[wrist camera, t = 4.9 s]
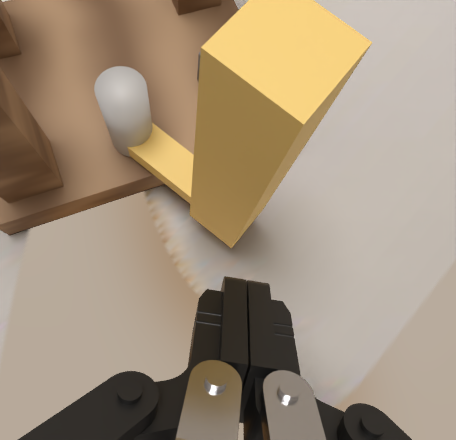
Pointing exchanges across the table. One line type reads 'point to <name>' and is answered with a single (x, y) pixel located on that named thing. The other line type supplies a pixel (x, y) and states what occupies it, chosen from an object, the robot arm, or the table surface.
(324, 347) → the table surface
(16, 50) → the wooden pillar stand
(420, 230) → the table surface
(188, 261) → the table surface
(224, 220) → the hinged leg
